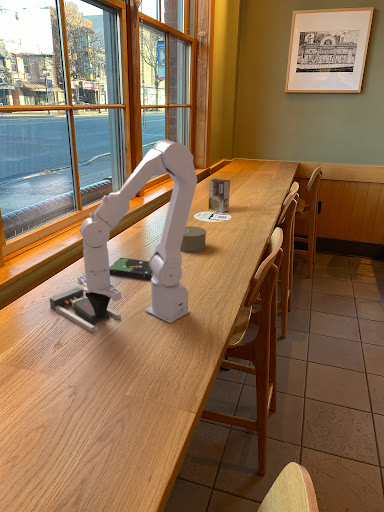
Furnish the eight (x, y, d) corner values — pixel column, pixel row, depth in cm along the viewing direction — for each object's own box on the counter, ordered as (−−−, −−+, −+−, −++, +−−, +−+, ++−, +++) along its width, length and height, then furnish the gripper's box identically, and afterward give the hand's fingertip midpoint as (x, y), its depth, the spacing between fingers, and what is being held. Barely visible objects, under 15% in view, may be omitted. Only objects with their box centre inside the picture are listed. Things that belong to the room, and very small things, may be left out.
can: (202, 254, 144) (203, 237, 142) (171, 251, 146) (171, 234, 144) (208, 244, 155) (208, 227, 153) (178, 241, 157) (178, 225, 155)
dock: (120, 318, 101) (120, 308, 100) (91, 332, 94) (90, 321, 93) (79, 296, 112) (78, 286, 110) (50, 307, 105) (49, 297, 104)
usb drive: (91, 326, 98) (90, 316, 97) (68, 308, 106) (67, 299, 105) (109, 319, 101) (108, 309, 100) (86, 302, 109) (85, 294, 108)
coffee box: (229, 211, 203) (230, 180, 197) (223, 213, 198) (224, 182, 192) (213, 208, 207) (215, 178, 202) (207, 211, 202) (208, 180, 196)
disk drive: (160, 270, 132) (120, 264, 135) (160, 262, 131) (120, 256, 134) (149, 282, 122) (106, 276, 126) (149, 274, 121) (106, 268, 125)
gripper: (65, 264, 95) (70, 313, 100) (102, 281, 86) (106, 334, 91) (89, 256, 100) (93, 303, 105) (126, 272, 91) (129, 322, 96)
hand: (101, 316), depth 98 cm, fingers closed
